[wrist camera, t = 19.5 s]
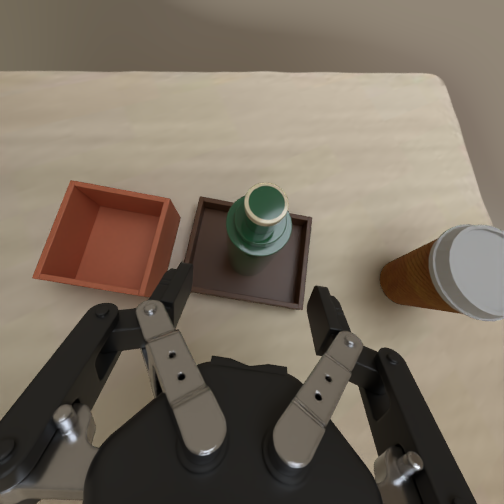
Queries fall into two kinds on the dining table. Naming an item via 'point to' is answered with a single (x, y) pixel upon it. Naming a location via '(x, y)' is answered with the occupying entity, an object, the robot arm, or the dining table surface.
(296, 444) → the robot arm
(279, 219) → the bottle
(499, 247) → the disposable coffee cup
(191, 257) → the tray
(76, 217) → the bin
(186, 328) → the dining table surface
